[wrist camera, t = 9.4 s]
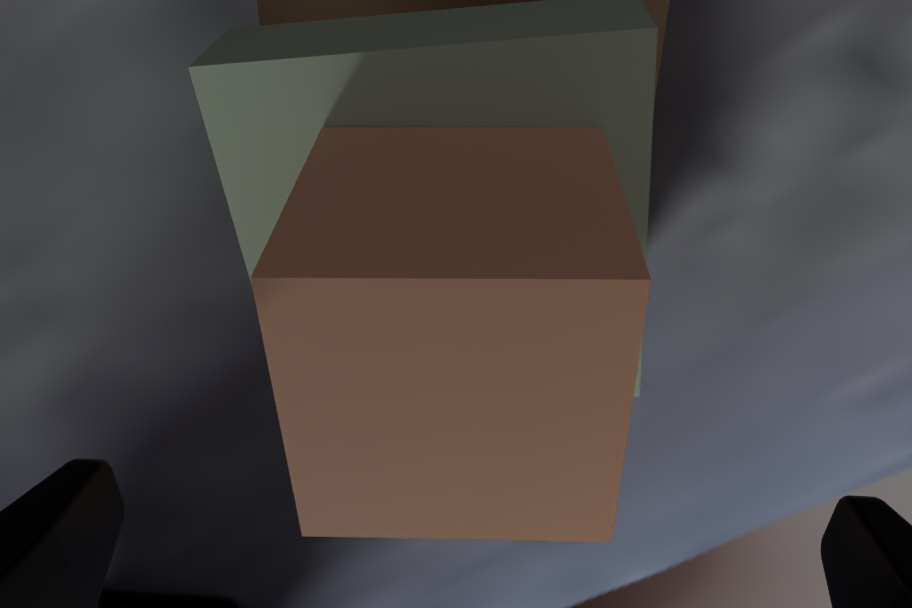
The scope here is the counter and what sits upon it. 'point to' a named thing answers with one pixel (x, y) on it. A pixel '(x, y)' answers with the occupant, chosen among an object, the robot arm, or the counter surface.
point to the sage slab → (424, 90)
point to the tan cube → (455, 333)
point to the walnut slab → (313, 3)
